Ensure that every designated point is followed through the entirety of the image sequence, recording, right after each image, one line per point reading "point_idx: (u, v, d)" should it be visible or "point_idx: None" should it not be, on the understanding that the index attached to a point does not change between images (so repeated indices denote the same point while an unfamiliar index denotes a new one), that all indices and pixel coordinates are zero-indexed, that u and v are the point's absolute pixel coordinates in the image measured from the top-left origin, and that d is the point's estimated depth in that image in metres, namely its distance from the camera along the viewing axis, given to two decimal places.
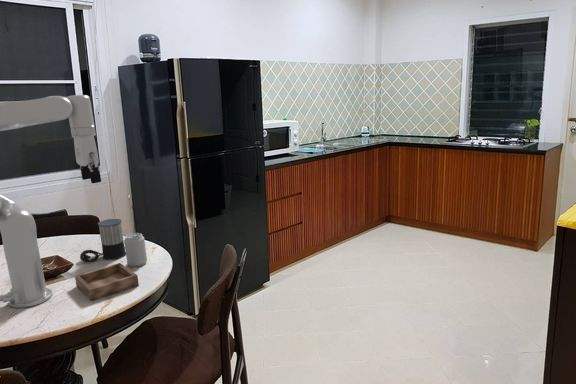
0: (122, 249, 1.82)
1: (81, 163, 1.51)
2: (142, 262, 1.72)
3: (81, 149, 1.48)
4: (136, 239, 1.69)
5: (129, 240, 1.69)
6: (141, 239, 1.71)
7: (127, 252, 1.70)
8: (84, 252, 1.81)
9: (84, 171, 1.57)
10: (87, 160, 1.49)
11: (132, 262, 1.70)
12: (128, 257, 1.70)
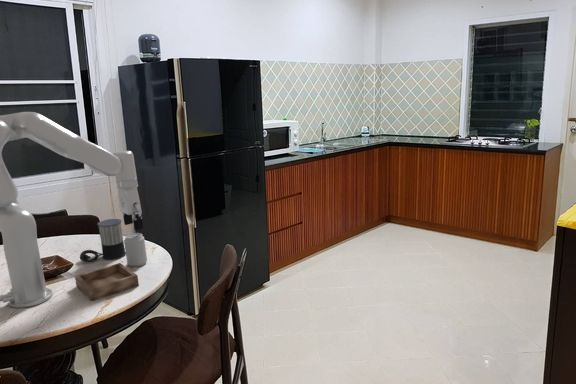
0: (122, 249, 1.82)
1: (125, 212, 1.66)
2: (142, 262, 1.72)
3: (126, 200, 1.64)
4: (136, 239, 1.69)
5: (129, 240, 1.69)
6: (141, 239, 1.71)
7: (127, 252, 1.70)
8: (84, 252, 1.81)
9: (126, 217, 1.73)
10: (131, 210, 1.64)
11: (132, 262, 1.70)
12: (128, 257, 1.70)
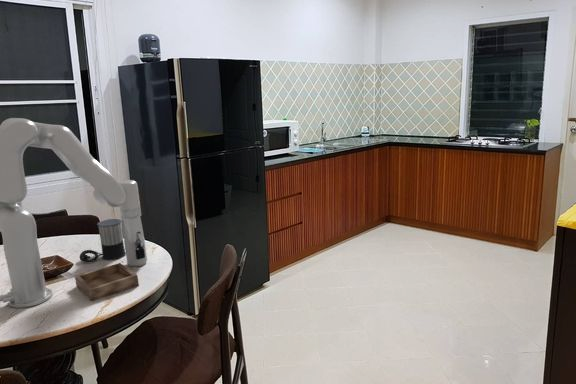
0: (122, 249, 1.82)
1: None
2: (142, 262, 1.72)
3: (129, 229, 1.66)
4: None
5: None
6: None
7: (127, 252, 1.70)
8: (84, 252, 1.81)
9: None
10: (134, 239, 1.67)
11: (132, 262, 1.70)
12: (128, 257, 1.70)
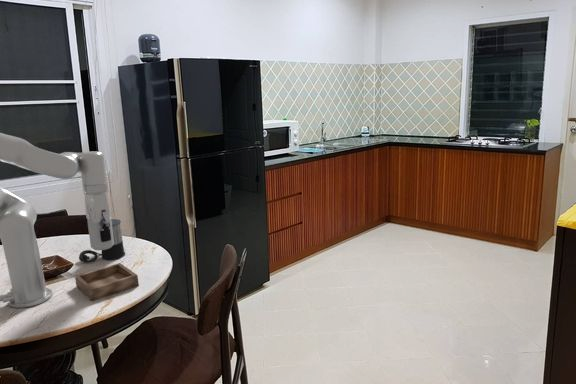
0: (121, 250, 1.82)
1: (92, 220, 1.48)
2: (108, 245, 1.51)
3: (93, 207, 1.45)
4: (101, 219, 1.48)
5: None
6: None
7: (91, 233, 1.49)
8: (83, 252, 1.80)
9: None
10: (99, 218, 1.46)
11: (96, 245, 1.49)
12: (92, 239, 1.49)
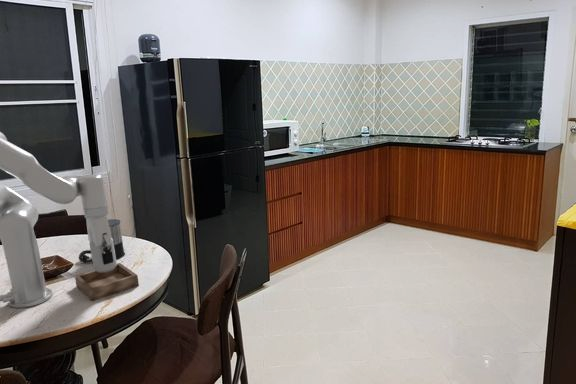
0: (121, 250, 1.82)
1: (94, 243, 1.48)
2: (110, 267, 1.51)
3: (94, 230, 1.46)
4: None
5: None
6: None
7: (93, 255, 1.49)
8: (83, 252, 1.80)
9: None
10: (100, 241, 1.46)
11: (99, 267, 1.50)
12: (94, 262, 1.50)
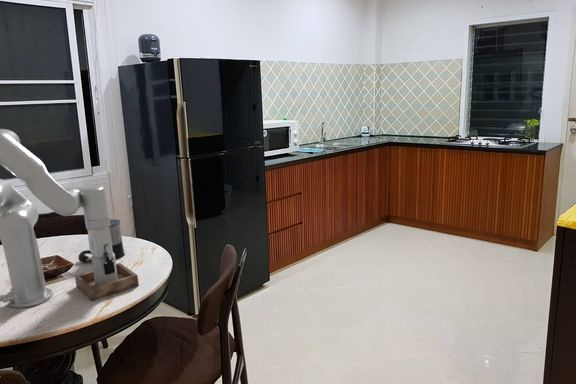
0: (120, 250, 1.81)
1: (95, 254, 1.49)
2: None
3: (95, 242, 1.47)
4: None
5: (97, 257, 1.50)
6: None
7: (94, 270, 1.51)
8: (83, 252, 1.80)
9: None
10: (101, 252, 1.47)
11: (100, 282, 1.51)
12: (95, 276, 1.51)
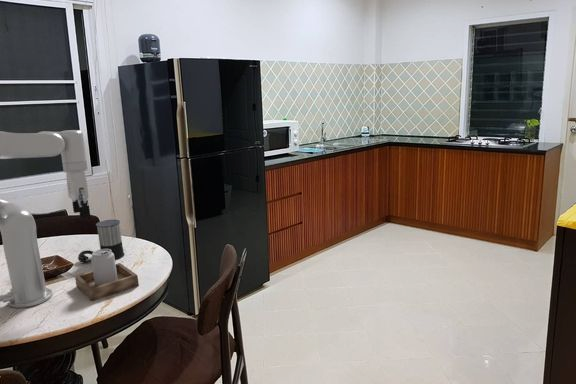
0: (120, 250, 1.81)
1: (71, 198, 1.51)
2: None
3: (71, 184, 1.48)
4: (104, 256, 1.50)
5: (96, 258, 1.49)
6: (111, 256, 1.51)
7: (94, 270, 1.50)
8: (82, 253, 1.80)
9: (75, 204, 1.57)
10: (76, 195, 1.48)
11: (100, 282, 1.51)
12: (95, 277, 1.51)
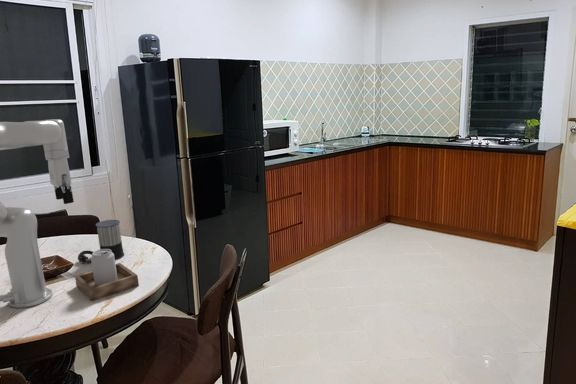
0: (120, 250, 1.81)
1: (54, 184, 1.57)
2: None
3: (54, 171, 1.54)
4: (104, 256, 1.50)
5: (96, 258, 1.49)
6: (111, 256, 1.51)
7: (94, 271, 1.50)
8: (82, 253, 1.80)
9: (57, 191, 1.64)
10: (60, 182, 1.55)
11: (100, 282, 1.51)
12: (95, 277, 1.51)
